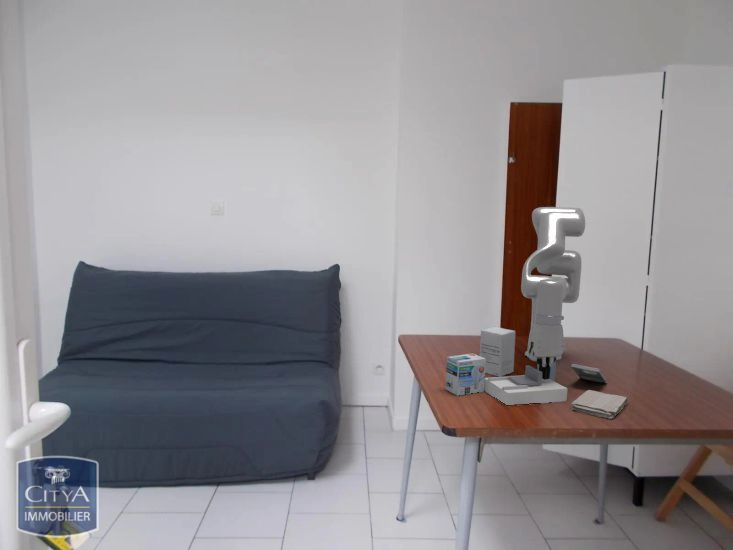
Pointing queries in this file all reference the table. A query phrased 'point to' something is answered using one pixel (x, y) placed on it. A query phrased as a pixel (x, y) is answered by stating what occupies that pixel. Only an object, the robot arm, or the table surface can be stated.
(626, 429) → the table surface
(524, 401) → the socket block
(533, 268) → the robot arm
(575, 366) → the light switch
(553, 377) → the plug
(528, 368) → the block
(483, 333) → the supplement box
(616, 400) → the washcloth
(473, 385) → the light bulb box
